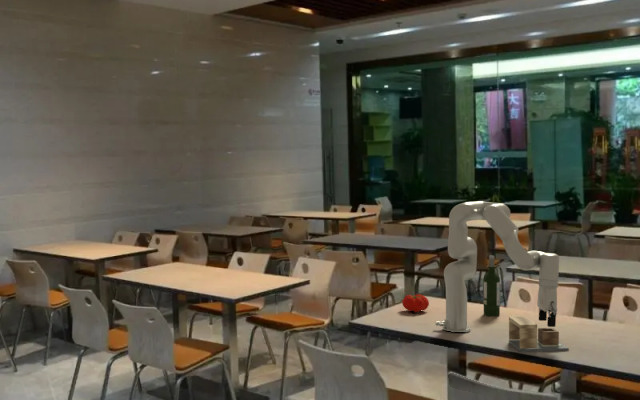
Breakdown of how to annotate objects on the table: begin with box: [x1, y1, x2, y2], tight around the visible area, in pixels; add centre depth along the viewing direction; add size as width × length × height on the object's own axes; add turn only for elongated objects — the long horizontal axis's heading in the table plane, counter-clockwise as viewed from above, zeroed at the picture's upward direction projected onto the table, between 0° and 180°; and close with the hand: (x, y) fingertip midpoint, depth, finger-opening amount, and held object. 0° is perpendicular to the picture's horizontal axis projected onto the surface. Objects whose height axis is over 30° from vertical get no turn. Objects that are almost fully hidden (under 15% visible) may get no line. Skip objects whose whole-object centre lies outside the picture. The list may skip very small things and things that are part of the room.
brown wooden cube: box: [537, 327, 560, 345], centre depth 279 cm, size 6×6×6 cm
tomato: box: [401, 293, 430, 313], centre depth 346 cm, size 14×13×9 cm
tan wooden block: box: [508, 316, 538, 349], centre depth 278 cm, size 7×14×10 cm, turn 2°
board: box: [508, 338, 570, 353], centre depth 279 cm, size 20×14×4 cm
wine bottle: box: [483, 255, 501, 317], centre depth 337 cm, size 8×8×30 cm
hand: (546, 323), depth 279 cm, fingers open, 9 cm apart
